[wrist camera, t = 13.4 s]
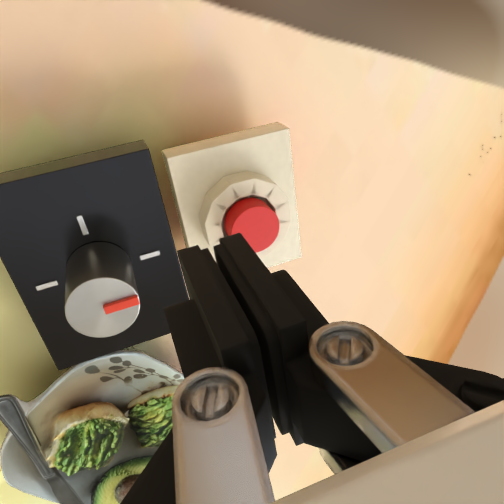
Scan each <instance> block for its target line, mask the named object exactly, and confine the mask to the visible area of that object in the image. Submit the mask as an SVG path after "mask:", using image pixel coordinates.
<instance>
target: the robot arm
mask: <svg viewBox="0 0 504 504" xmlns="http://www.w3.org/2000/svg"><path fill="white" fill-rule="evenodd" d="M219 242H220V244H218V245H215V246H213V248H214V254H215V259H216V262H215V260H214V258H213V256H212V254H211V253H210V251H209V249H208V248H205V249H202V250H201V249H200V247H199V246H198V245H196V246H192V247H189V248H186V249H182V250H179V251H177V252H178V257H179V261H180V264H181V268H182V272H183V276H184V279H185V283H186V287H187V291H188V294H189V298H190V300H187V301H184V302H181V303H178V304H175V305H171V306H168V307H165V308H163V309H164V312H165V315H166V319H167V322H168V325H169V329H170V332H171V335H172V339H173V342H174V345H175V349H176V352H177V356H178V359H179V362H180V366H181V369H182V372H183V376H184V380H183V381H182V382H181V383H180V384H179V385H178V387H177V389H176V391H175V393H174V394H173V399H172V426H173V427H172V429H171V430H170V432H169V433H168V435H167V436H166V438H165V439H164V440H163V442H162V443H161V445H160V446H159V448H158V449H157V451H156V452H155V454H154V455H153V457H152V458H151V459H150V461H149V462H148V464H147V465H146V467H145V468H144V470H143V471H142V473H141V474H140V475H139V477H138V478H137V480H136V481H135V483H134V484H133V486H132V487H131V489H130V490H129V492H128V493H127V494H126V496H125V497H124V499H123V500H122V502H121V503H120V504H504V378H503V379H502V378H500V377H498V376H496V375H493V374H489V373H486V372H482V371H477V370H473V369H468V368H463V367H458V366H454V365H449V364H444V363H439V362H434V361H429V360H425V359H420V358H415V357H410V356H405V355H403V354H402V353H401V352H399V351H398V350H397V349H396V348H394V347H393V346H392V345H391V344H389V343H388V342H387V341H386V340H384V339H383V338H382V337H381V336H379V335H378V334H377V333H376V332H374V331H373V330H371V329H370V328H368V327H366V326H365V325H362V324H359V323H355V322H347V321H341V322H333V323H330V324H329V323H328V322H327V320H326V319H325V318H324V317H323V315H322V314H321V313H320V312H319V311H318V309H317V308H316V307H315V306H314V304H313V303H312V302H311V301H310V299H309V298H308V297H307V296H306V295H305V293H304V292H303V291H302V290H301V288H300V287H299V286H298V285H297V284H296V282H295V281H294V280H293V279H292V277H291V276H290V275H289V274H288V273H287V272H286V271H285V270H280V271H277V272H274V273H270V271H269V270H268V269H267V267H266V266H265V265H264V263H263V262H262V261H261V259H260V258H259V257H258V255H257V254H256V253H255V251H254V250H253V249H252V247H251V246H250V245H249V243H248V242H247V241H246V239H245V238H244V237H243V235H242V234H241V233H236V234H233V235H230V236H226V237H223V238H220V239H219ZM272 416H273V417H272ZM273 418H274V420H275V423H276V425H277V427H278V429H279V431H280V432H281V434H282V435H284V434H286V433H290V435H291V437H292V438H293V440H294V442H295V444H296V446H297V445H299V444H302V443H306V444H309V445H312V446H315V447H318V448H319V450H320V454H321V456H322V457H323V459H324V461H325V462H326V464H327V465H328V466H329V467H330V469H331V470H332V471H333V473H334V474H335V475H333V476H330V477H328V478H326V479H324V480H321V481H319V482H317V483H315V484H312V485H310V486H308V487H306V488H303V489H301V490H299V491H297V492H294V493H292V494H290V495H288V496H285V497H283V498H281V499H279V500H276V501H275V499H274V495H273V491H272V486H271V482H270V478H269V472H270V469H271V467H272V465H273V463H274V460H275V458H276V456H277V452H276V446H275V441H274V438H276V434H275V429H274V423H273Z"/></svg>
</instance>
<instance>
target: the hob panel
mask: <svg viewBox="0 0 504 504" xmlns="http://www.w3.org/2000/svg"><path fill="white" fill-rule="evenodd" d="M93 242H107V243H111V244H114V245H116V246H118V247H120V248H121V249H123V250H124V251H125V252H126V253H127V255H128V256H129V258H130V260H131V264H132V268H133V273H134V277H135V282H136V286H137V291H138V295H139V300H140V310H139V314H138V316H137V318H136V320H135V321H134V322H133V324H132V325H131V326H130V327H128V328H127V329H126V330H124V331H123V332H121V333H119V334H116V335H113V336H110V337H102V338H96V337H90V336H86V335H83V334H81V333H79V332H77V331H76V330H75V329H74V328H73V327H71V325H70V324H69V323H68V321H67V319H66V316H65V285H66V266H67V262H68V260H69V258H70V256H71V255H72V254H73V253H74V252H75V251H76V250H77V249H78V248H80V247H82V246H84V245H86V244H89V243H93ZM0 258H1V260H2V262H3V263H4V265H5V267H6V269H7V271H8V273H9V275H10V277H11V279H12V281H13V283H14V285H15V287H16V289H17V291H18V293H19V295H20V297H21V298H22V300H23V302H24V304H25V306H26V308H27V310H28V312H29V314H30V316H31V318H32V320H33V322H34V324H35V326H36V328H37V330H38V332H39V333H40V335H41V337H42V339H43V341H44V343H45V345H46V347H47V349H48V351H49V353H50V355H51V357H52V359H53V361H54V363H55V365H56V367H57V368H58V370H62V369H65V368H68V367H71V366H74V365H77V364H80V363H83V362H86V361H89V360H92V359H94V358H97V357H100V356H103V355H106V354H109V353H112V352H115V351H118V350H121V349H124V348H127V347H130V346H133V345H136V344H139V343H142V342H145V341H148V340H151V339H154V338H157V337H160V336H163V335H166V334H169V333H171V332H170V329H169V325H168V322H167V319H166V315H165V312H164V309H163V308H165V307H168V306H171V305H175V304H178V303H181V302H184V301H187V300H189V297H188V293H187V290H186V286H185V282H184V279H183V275H182V271H181V267H180V264H179V260H178V256H177V253H176V249H175V245H174V241H173V238H172V234H171V230H170V227H169V223H168V219H167V215H166V212H165V208H164V204H163V200H162V197H161V193H160V189H159V186H158V182H157V178H156V174H155V171H154V167H153V163H152V160H151V156H150V152H149V149H148V147H147V145H146V143H145V141H144V140H140V141H136V142H131V143H127V144H123V145H118V146H114V147H110V148H106V149H101V150H97V151H93V152H89V153H84V154H80V155H76V156H72V157H67V158H63V159H59V160H55V161H50V162H46V163H42V164H38V165H33V166H29V167H25V168H21V169H16V170H12V171H8V172H3V173H0Z"/></svg>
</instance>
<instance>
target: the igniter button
mask: <svg viewBox="0 0 504 504" xmlns="http://www.w3.org/2000/svg"><path fill="white" fill-rule="evenodd" d="M224 225H225V230H226V233H227V234H228V236H230V235H233V234H236V233H241V234H242V235H243V237H244V238H245V239H246V241H247V242H248V243H249V245H250V246H251V247H252V249H253V250H254V251H255V253H257V252H260V251H263V250H265V249H266V248H268V247H269V246H270V245H271V244H272V243H273V242H274V241H275V239H276V238H277V235H278V233H279V219H278V217H277V215H276V213H275V212H274V211H273V210H272V209H271V208H270V207H269V206H268V205H267V204H266V203H265V202H263V201H262V200H260V199H257V198H245V199H242V200H239V201H238V202H236V203H235V204H234V205H232V207H231V208H230V209H229V210H228V212H227V214H226V217H225V223H224Z"/></svg>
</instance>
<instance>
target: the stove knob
mask: <svg viewBox="0 0 504 504" xmlns="http://www.w3.org/2000/svg"><path fill="white" fill-rule="evenodd" d="M139 310H140V300H139V295H138V291H137V286H136V282H135V277H134V273H133V268H132V264H131V260H130V258H129V256H128V255H127V253H126V252H125V251H124V250H123V249H121V248H120V247H118V246H116V245H114V244H111V243H107V242H93V243H89V244H86V245H84V246H82V247H80V248H78V249H77V250H76V251H75V252H74V253H73V254H72V255H71V256H70V258H69V260H68V262H67V266H66V285H65V316H66V319H67V321H68V323H69V324H70V325H71V327H73V328H74V329H75V330H76V331H77V332H79V333H81V334H83V335H86V336H90V337H96V338H102V337H110V336H113V335H116V334H119V333H121V332H123V331H124V330H126V329H127V328H128V327H130V326H131V325H132V324H133V322H134V321H135V320H136V318H137V316H138V314H139Z"/></svg>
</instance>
